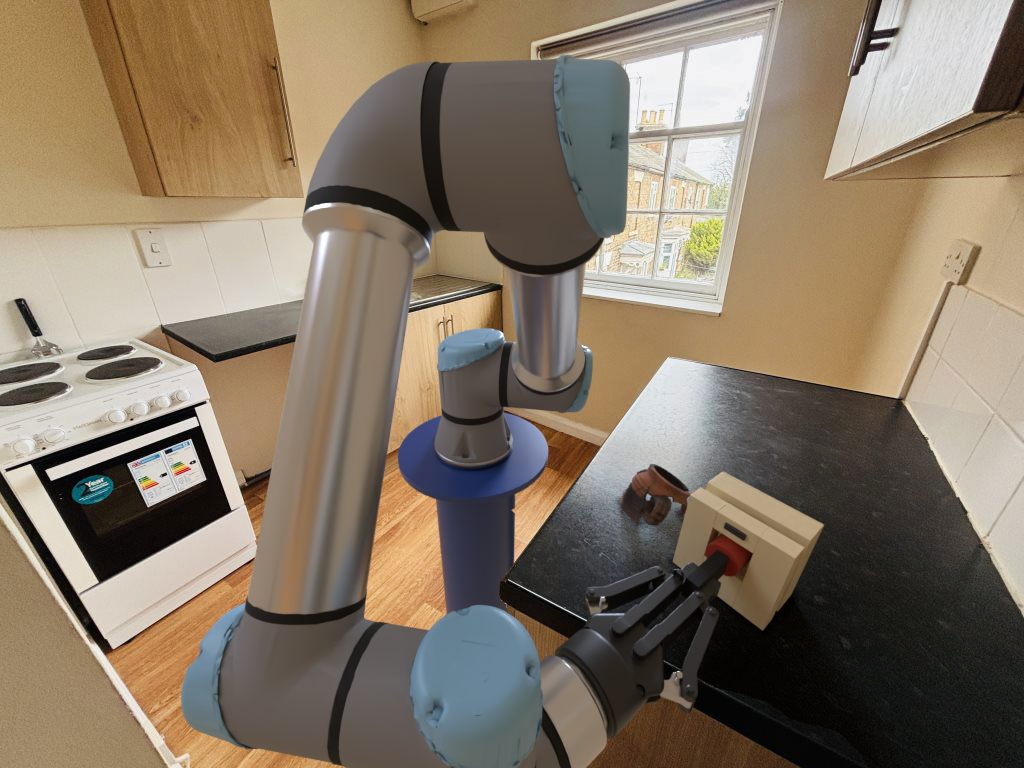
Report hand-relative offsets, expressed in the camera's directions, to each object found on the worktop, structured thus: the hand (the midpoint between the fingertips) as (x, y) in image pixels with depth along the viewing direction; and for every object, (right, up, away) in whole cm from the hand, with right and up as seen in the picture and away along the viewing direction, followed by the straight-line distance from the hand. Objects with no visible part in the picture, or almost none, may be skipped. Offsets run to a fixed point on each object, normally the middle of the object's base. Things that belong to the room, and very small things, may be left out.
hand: (720, 561), depth 48 cm
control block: (+4, -5, +6) cm, 9 cm away
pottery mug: (-2, 0, +17) cm, 17 cm away
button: (+2, -1, +2) cm, 3 cm away
